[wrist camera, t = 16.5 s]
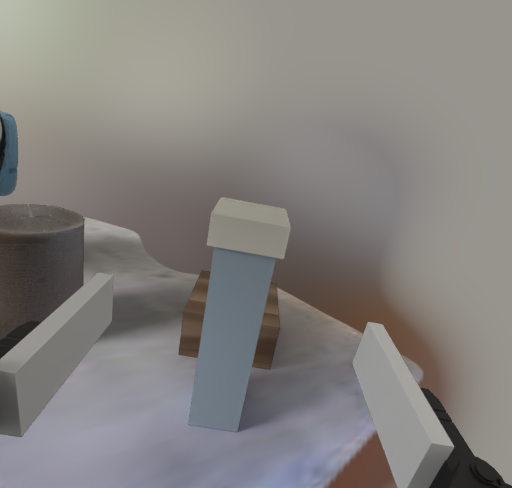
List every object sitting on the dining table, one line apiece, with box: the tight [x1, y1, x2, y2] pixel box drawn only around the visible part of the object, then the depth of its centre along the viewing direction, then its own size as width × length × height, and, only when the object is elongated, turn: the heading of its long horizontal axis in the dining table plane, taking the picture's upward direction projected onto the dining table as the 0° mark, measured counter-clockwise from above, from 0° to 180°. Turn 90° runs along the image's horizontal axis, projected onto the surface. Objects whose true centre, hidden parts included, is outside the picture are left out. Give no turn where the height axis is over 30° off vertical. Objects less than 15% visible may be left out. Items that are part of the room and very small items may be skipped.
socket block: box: [179, 270, 280, 369], centre depth 42 cm, size 11×11×6 cm
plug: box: [188, 197, 291, 432], centre depth 28 cm, size 6×6×20 cm
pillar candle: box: [0, 204, 85, 340], centre depth 35 cm, size 10×10×15 cm
